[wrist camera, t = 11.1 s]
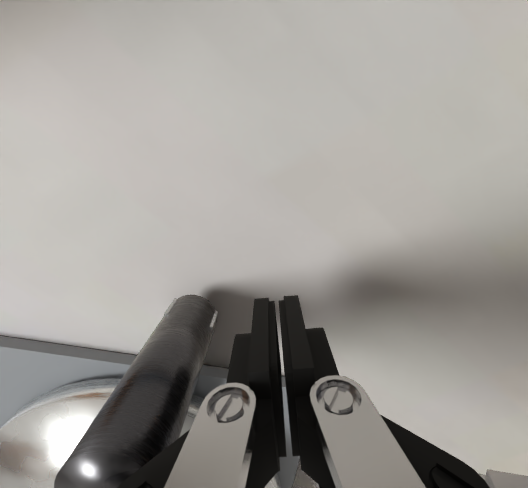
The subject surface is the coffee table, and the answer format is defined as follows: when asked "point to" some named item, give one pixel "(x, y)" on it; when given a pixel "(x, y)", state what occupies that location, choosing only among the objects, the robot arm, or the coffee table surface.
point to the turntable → (114, 412)
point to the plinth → (92, 368)
